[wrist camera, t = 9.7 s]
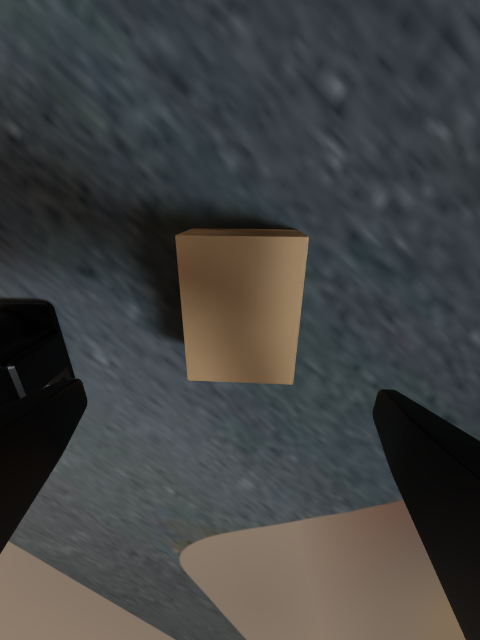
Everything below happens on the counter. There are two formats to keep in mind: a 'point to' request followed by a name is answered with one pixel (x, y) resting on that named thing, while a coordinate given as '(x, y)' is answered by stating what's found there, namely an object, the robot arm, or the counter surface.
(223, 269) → the walnut block
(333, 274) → the counter surface
